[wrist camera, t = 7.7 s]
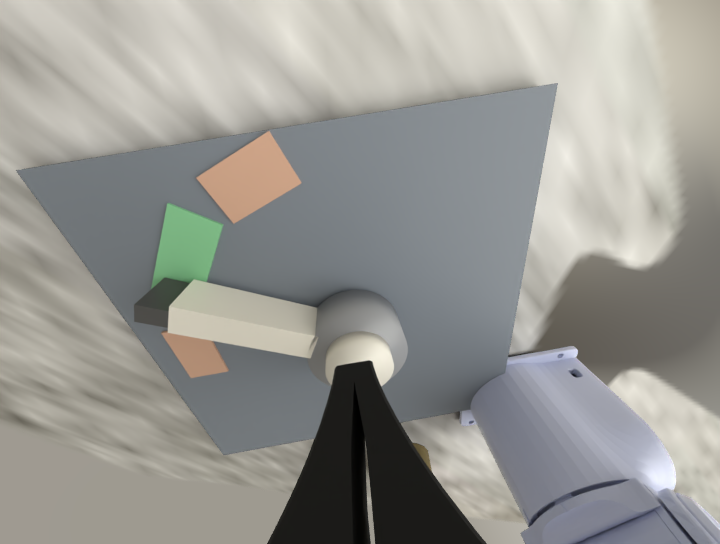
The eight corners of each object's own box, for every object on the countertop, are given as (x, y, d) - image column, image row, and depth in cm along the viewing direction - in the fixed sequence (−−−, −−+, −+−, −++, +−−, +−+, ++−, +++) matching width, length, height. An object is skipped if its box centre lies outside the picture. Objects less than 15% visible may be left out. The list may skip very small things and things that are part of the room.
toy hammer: (412, 302, 16) (430, 341, 13) (378, 365, 19) (388, 411, 16) (166, 238, 13) (115, 271, 10) (162, 324, 15) (121, 373, 12)
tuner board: (539, 87, 13) (560, 82, 12) (491, 392, 24) (500, 405, 23) (42, 167, 12) (12, 170, 11) (228, 440, 23) (223, 457, 22)
